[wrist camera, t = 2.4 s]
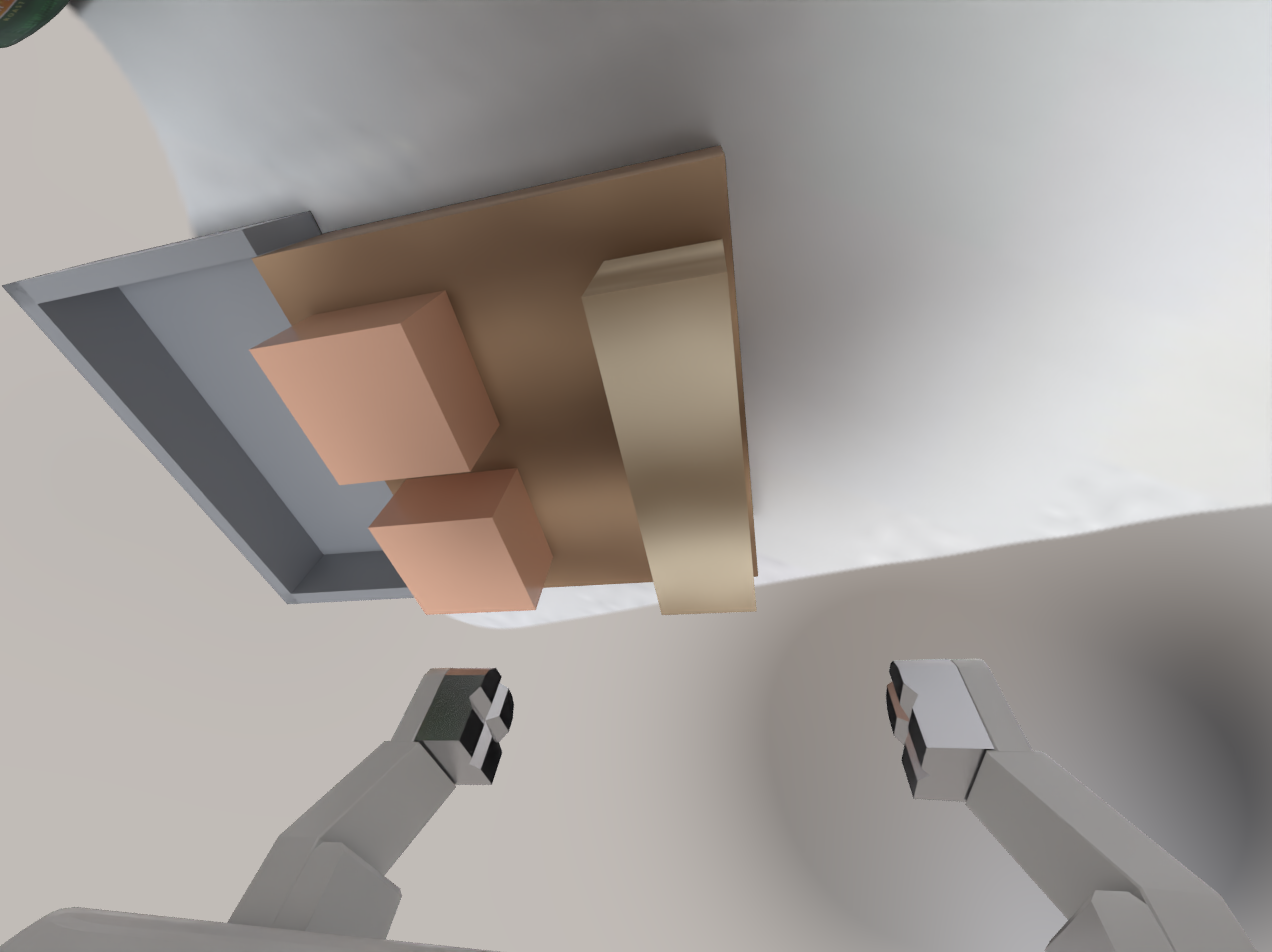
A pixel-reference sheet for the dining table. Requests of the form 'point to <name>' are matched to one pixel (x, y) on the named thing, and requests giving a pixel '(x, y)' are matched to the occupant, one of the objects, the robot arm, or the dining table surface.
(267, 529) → the tray
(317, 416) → the tile
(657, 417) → the beige wooden block
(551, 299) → the board
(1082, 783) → the robot arm
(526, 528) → the tile
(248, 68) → the dining table surface
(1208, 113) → the dining table surface
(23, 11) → the coffee jar
